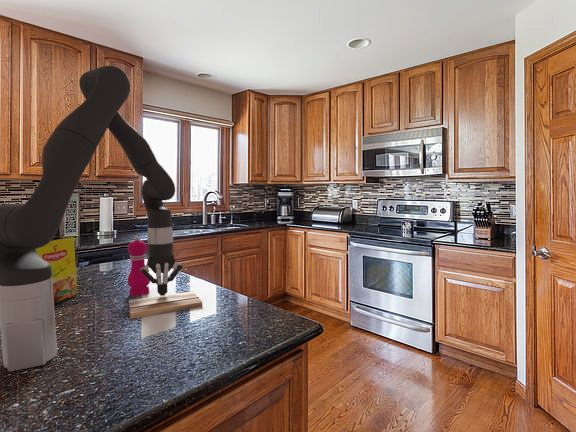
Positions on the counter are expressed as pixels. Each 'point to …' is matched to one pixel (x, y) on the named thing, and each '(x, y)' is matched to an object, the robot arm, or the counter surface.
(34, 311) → the robot arm
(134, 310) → the oak plank
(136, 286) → the pepper mill
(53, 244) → the food package
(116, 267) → the counter surface
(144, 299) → the ash plank
